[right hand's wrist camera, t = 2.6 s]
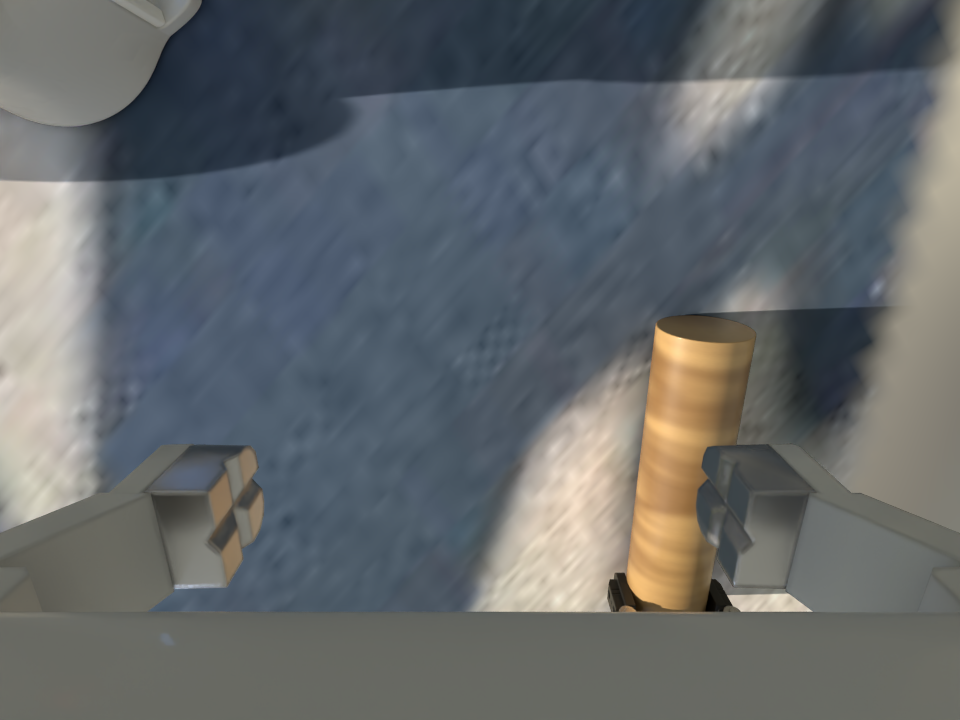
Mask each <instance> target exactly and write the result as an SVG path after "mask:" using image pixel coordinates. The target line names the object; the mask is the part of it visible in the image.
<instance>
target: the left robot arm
mask: <svg viewBox="0 0 960 720" xmlns="http://www.w3.org/2000/svg"><path fill="white" fill-rule="evenodd" d="M607 599H608V602H609V606H610V609H611V612H636V611H635V608H636V605H635V602H634V599H633V596H632V593H631V590H630V587H629V585H628V582H627V579H626V576H625V573H615V575H614V579H610V581H609V587H608V597H607ZM705 612H741V611H740V610H739V609H737V608H736V607H733V606H732V604H731V602H730V600H729V598H728V597H727V595H726V594H725V591H724V590H723V588H722V586H721V584H720V583H719V582H718V581H717V580H716V579H712V578H711V583H710V589H709V594H708V599H707V605H706V610H705Z"/></svg>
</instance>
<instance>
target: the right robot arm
mask: <svg viewBox="0 0 960 720" xmlns="http://www.w3.org/2000/svg"><path fill="white" fill-rule="evenodd" d="M201 3H202V0H0V108H2V109H4V110H6V111H8V112H10V113H12V114H14V115H17V116H19V117H22V118H24V119H27V120H30V121H33V122H37V123H41V124H46V125H52V126H65V127H70V126H82V125H88V124H92V123H96V122H99V121H102V120H104V119H107V118H109V117H111V116H113V115H115V114H116V113H118V112H119V111H121V110H122V109H124V108H125V107H126V106H128V105H129V104H130V103H131V102H132V101H133V100H134V99H135V98H136V97H137V96H138V95H139V94H140V92H141V91H142V90H143V88H144V87H145V86H146V84H147V82H148V81H149V79H150V77H151V75H152V73H153V71H154V69H155V67H156V64H157V62H158V59H159V57H160V55H161V52H162V50H163V48H164V46H165V44H166V42H167V41H168V39H169V37H170V36H171V35H173V34H174V33H175V32H176V31H178V30H179V29H180V28H181V27H182V26H183V25H185V24H186V23H187V22H188V21H189V20H190V19H191V18H192V17H193V16H194V15H195V13H196V12H197V11H198V9H199V8H200V5H201ZM258 468H259V466H258V461H257V456H256V451H255V450H254V449H253V448H252V447H251V446H248V445H194V444H172V445H162V446H160V447H159V448H158V449H157V450H156V451H155V452H154V453H153V454H152V455H150V456H149V457H148V458H147V459H146V460H145V461H144V462H143V463H142V464H140V465H139V466H138V467H137V468H136V469H135V470H134V471H133V472H132V473H130V474H129V475H128V476H127V477H126V478H125V479H124V480H123V481H122V482H120V483H119V484H118V485H117V486H116V487H115V488H114V489H113V490H112V491H110V492H109V493H98V494H96V495H93V496H91V497H88V498H86V499H83V500H81V501H78V502H76V503H74V504H71V505H69V506H66V507H64V508H61V509H59V510H56V511H54V512H51V513H49V514H46V515H44V516H41V517H39V518H36V519H34V520H31V521H29V522H26V523H24V524H21V525H19V526H17V527H14V528H12V529H9V530H7V531H4V532H2V533H0V720H960V533H958V532H956V531H953V530H951V529H948V528H946V527H943V526H941V525H938V524H936V523H933V522H931V521H928V520H926V519H923V518H921V517H919V516H916V515H914V514H911V513H909V512H906V511H904V510H901V509H899V508H896V507H894V506H891V505H889V504H886V503H884V502H881V501H879V500H877V499H874V498H872V497H869V496H867V495H864V494H862V493H851V492H850V491H848V490H847V489H846V488H845V487H844V486H843V485H842V484H841V483H840V482H838V481H837V480H836V479H835V478H834V477H833V476H832V475H831V474H830V473H829V472H827V471H826V470H825V469H824V468H823V467H822V466H821V465H820V464H819V463H817V462H816V461H815V460H814V459H813V458H812V457H811V456H810V455H809V454H807V453H806V452H805V451H804V450H803V449H802V448H801V447H800V446H797V445H794V444H776V445H768V444H766V445H725V446H710V447H707V448H706V451H705V453H704V455H703V460H702V466H701V468H702V470H703V471H704V473H705V474H706V476H707V477H708V479H707V480H706V481H705V482H704V483H703V484H702V485H701V486H700V487H699V488H698V491H697V499H696V513H697V521H698V525H699V528H700V531H701V533H702V535H703V536H704V538H705V540H706V542H708V543H710V544H711V545H713V546H714V547H716V548H718V554H717V561H718V562H719V564H720V566H721V567H722V569H723V571H724V572H725V574H726V576H727V577H728V579H729V581H730V582H731V584H732V586H733V587H741V588H778V589H786V592H788V593H789V594H790V595H792V596H793V597H794V598H796V599H797V600H798V601H800V602H801V603H802V604H804V605H805V606H806V607H808V608H809V609H810V610H812V611H813V612H147V611H148V610H150V609H151V608H152V607H154V606H155V605H156V604H158V603H159V602H161V601H162V600H163V599H165V598H166V597H167V596H169V595H170V594H171V593H173V592H174V589H182V588H218V587H227V586H228V584H229V583H230V581H231V579H232V577H233V576H234V574H235V572H236V571H237V569H238V567H239V566H240V564H241V562H242V561H243V554H242V548H244V547H246V546H247V545H249V544H250V543H252V542H254V540H255V538H256V536H257V535H258V533H259V531H260V528H261V524H262V520H263V516H264V498H263V491H262V488H261V487H260V486H259V485H258V484H257V483H256V482H255V481H254V480H253V479H252V477H253V476H254V474H255V473H256V471H257V470H258Z"/></svg>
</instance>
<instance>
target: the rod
mask: <svg viewBox="0 0 960 720" xmlns="http://www.w3.org/2000/svg"><path fill="white" fill-rule="evenodd" d="M755 340H756V332H755V331H754V330H753V329H752V328H750V327H748V326H746V325H744V324H741V323H738V322H735V321H731V320H727V319H722V318H716V317H708V316H696V315H682V316H672V317H666V318H663V319H661V320H659V321H657V323H656V328H655V336H654V345H653V353H652V362H651V370H650V379H649V387H648V396H647V405H646V413H645V422H644V430H643V439H642V447H641V456H640V464H639V473H638V482H637V490H636V499H635V507H634V516H633V524H632V533H631V541H630V550H629V559H628V567H627V576H626V579H627V582H628V585H629V587H630V590H631V593H632V596H633V599H634V602H635V605H636V608H635V611H636V612H705V610H706V605H707V599H708V594H709V589H710V583H711V578H712V572H713V567H714V561H715V556H716V551H717V548H716V547H714V546H713V545H711V544H710V543H708V542H706V540H705V538H704V536H703V535H702V533H701V531H700V528H699V525H698V521H697V513H696V499H697V491H698V488H699V487H700V486H701V485H702V484H703V483H704V482H705V481H706V480H707V479H708V477H707V476H706V474H705V473H704V471H703V470H702V468H701V466H702V460H703V455H704V453H705V451H706V448H707V447H710V446H725V445H736V442H737V437H738V432H739V426H740V421H741V415H742V410H743V404H744V399H745V394H746V388H747V383H748V377H749V372H750V367H751V361H752V356H753V350H754V345H755Z"/></svg>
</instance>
